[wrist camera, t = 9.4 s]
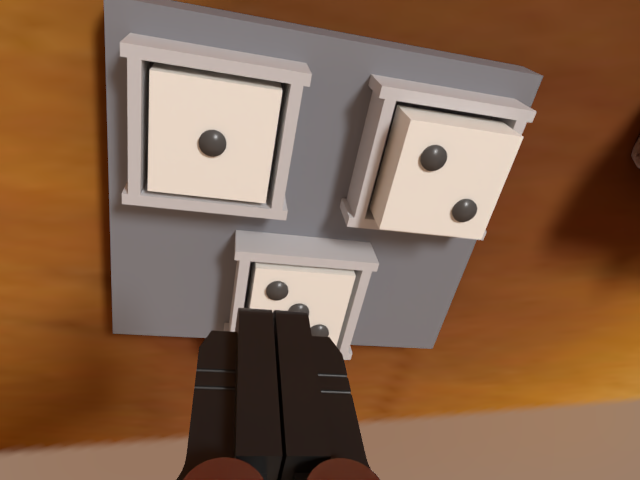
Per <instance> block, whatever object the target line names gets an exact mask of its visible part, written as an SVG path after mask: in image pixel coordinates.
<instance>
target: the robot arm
mask: <svg viewBox="0 0 640 480" xmlns="http://www.w3.org/2000/svg"><path fill="white" fill-rule="evenodd" d="M350 392H351V390H350V385H349V381H348V378H347V372H346V368H345V363H344V359H343V355H342V353H341V352H340V351H339V349H338V348H337V347H336V345H335V344H334V343H333V341H332V340H331V339H330V337H320V336H312V334H311V328H310V322H309V316H308V313H307V312H298V311H283V310H274V311H273V312H272V310H266V309H252V308H238V312H237V319H236V327H235V332H231V331H214V330H212V331H211V332H210V333H209V335H208V336H207V337H206V339H205V340H204V342H203V343H202V344H201V346H200V347H199V354H198V363H197V372H196V380H195V389H194V397H193V405H192V414H191V422H190V431H189V439H188V448H187V456H186V461H185V465H184V467H183V470H182V472H181V473H180V475H179V477H178V478H177V480H380V479H379V477H378V476H377V475H376V474H375V473H374V472H373V471H372V470H371V469H370V467H369V465H368V462H367V459H366V455H365V451H364V446H363V442H362V438H361V433H360V429H359V425H358V420H357V416H356V411H355V407H354V403H353V398H352V395H351V394H350Z"/></svg>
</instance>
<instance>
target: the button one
mask: <svg viewBox="0 0 640 480" xmlns="http://www.w3.org/2000/svg"><path fill="white" fill-rule="evenodd" d="M281 98H282V87H281V83H280V82H276V81H270V80H264V79H257V78H251V77H245V76H239V75H233V74H226V73H220V72H214V71H208V70H201V69H195V68H189V67H183V66H177V65H170V64H164V63H158V62H155V63H154V64H153V66H152V67H151V69H150V70H149V132H148V191H154V192H163V193H173V194H182V195H191V196H201V197H210V198H219V199H229V200H238V201H247V202H257V203H266V198H267V191H268V184H269V178H270V171H271V164H272V158H273V151H274V144H275V138H276V131H277V124H278V118H279V111H280V104H281Z"/></svg>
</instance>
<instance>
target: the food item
mask: <svg viewBox="0 0 640 480" xmlns="http://www.w3.org/2000/svg"><path fill="white" fill-rule="evenodd" d="M631 157H632V159H633V161H634V163H635V164H636V166H637V167H638V168H639V169H640V136H639V138H638V140H637V141H636V143H635V145H634V147H633V151H632V154H631Z"/></svg>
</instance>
